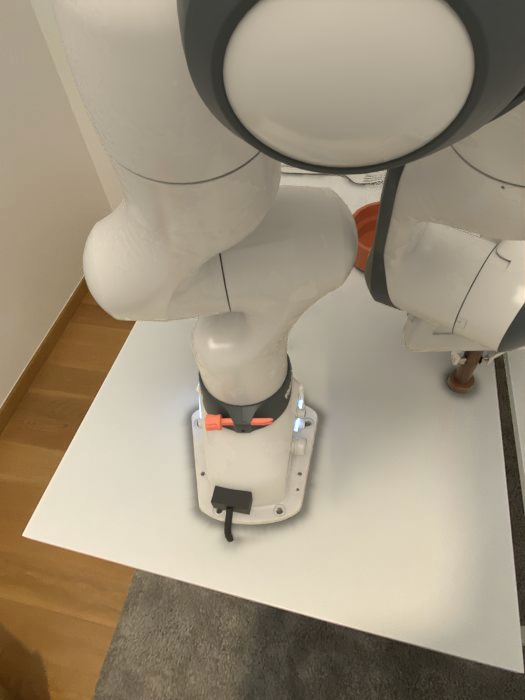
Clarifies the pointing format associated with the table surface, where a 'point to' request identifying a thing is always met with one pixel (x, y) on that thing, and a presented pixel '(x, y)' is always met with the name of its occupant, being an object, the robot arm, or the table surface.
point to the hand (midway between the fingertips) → (470, 360)
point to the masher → (465, 373)
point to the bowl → (365, 231)
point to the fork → (355, 178)
